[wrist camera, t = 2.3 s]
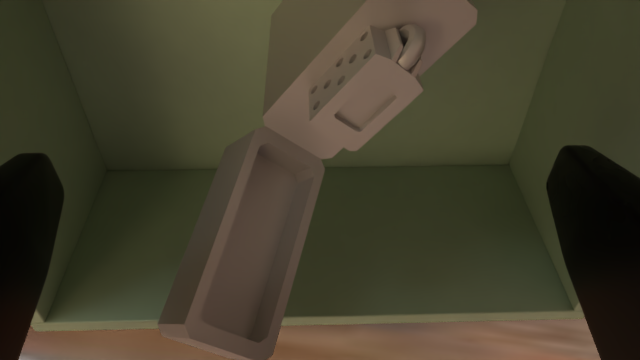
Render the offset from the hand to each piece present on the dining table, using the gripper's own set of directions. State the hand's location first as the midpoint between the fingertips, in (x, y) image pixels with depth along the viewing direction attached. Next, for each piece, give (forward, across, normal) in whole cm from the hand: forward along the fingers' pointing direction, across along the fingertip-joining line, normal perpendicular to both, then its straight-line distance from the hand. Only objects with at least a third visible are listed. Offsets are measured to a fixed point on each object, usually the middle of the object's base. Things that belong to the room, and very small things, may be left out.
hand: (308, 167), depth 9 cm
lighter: (+6, 0, 0) cm, 6 cm away
